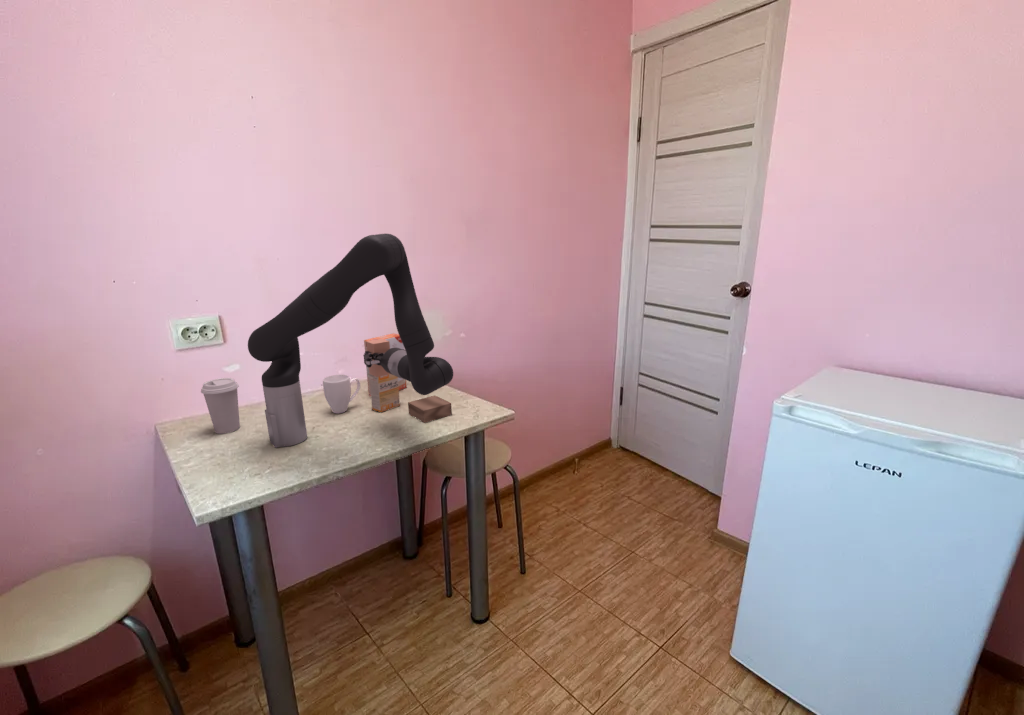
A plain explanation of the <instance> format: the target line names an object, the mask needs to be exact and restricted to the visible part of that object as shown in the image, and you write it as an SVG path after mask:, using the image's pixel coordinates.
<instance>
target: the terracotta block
mask: <svg viewBox="0 0 1024 715" xmlns="http://www.w3.org/2000/svg"><path fill="white" fill-rule="evenodd" d="M366 344H367V351H369V352H372V353H375V352H381V353H383V352H386V351H387V350H389V349H390V343H389V341H387V340H384V339H377V340H371V341H366ZM373 359H374V356H373ZM369 374H371V375H373V376H375V377H379V376H384V375H389V374H390V373H388V372H386V371H385V370H384V368H383V367H382V366H380V365H377V364H372V367H369Z"/></svg>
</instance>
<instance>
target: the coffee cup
mask: <svg viewBox="0 0 1024 715" xmlns="http://www.w3.org/2000/svg"><path fill="white" fill-rule="evenodd" d="M239 387H240V386H239V384H238V382H236V380H235V379H234V378H231V377H224V378H223V377H221V378H215V379H211V380H208V381H206V382H204V383H203V384H202V387H201V388H200V393H201V394H203V396H204V397H203V398H204V401H205V403H206V407H207V410H208V413H209V416H210V420H211V423H212V426H213V430H214V433H215V434H218V435H219V434H220V435H221V434H229V433H232V432H235V431H237V430H239V429H240V427H241V424H240V423H241V422H240V411H239V410H240V409H239V396H238V394H239V393H238V388H239Z"/></svg>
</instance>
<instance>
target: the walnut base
mask: <svg viewBox="0 0 1024 715" xmlns="http://www.w3.org/2000/svg"><path fill="white" fill-rule="evenodd" d="M407 406H408V408H407V409H408V415H410V416H412V417H413V416H414V417H413V418H415V417H416V418H415V419H417V420H418V419H419V420H418V421H420V422H422V423H424V424H426V423H428V422H429V423H430V422H432V420H433V421H436V420H440V419H442V418H447V417H449V416H452V413H453V412H452V402H450V401H448V400H445V399H443V398H441V397H439V396H437V395H435V394H433V395H430V396H428V397H424V398H419V399H416V400H411V401H408V402H407ZM425 422H426V423H425Z"/></svg>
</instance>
